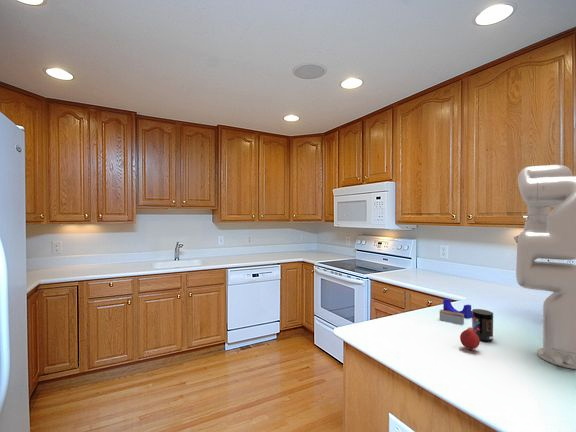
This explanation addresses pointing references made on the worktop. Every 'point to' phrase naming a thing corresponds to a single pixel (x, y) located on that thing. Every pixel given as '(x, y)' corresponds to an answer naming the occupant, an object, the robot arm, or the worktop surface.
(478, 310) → the supplement container
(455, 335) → the worktop surface
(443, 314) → the end stop block
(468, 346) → the onion
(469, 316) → the cable clip
